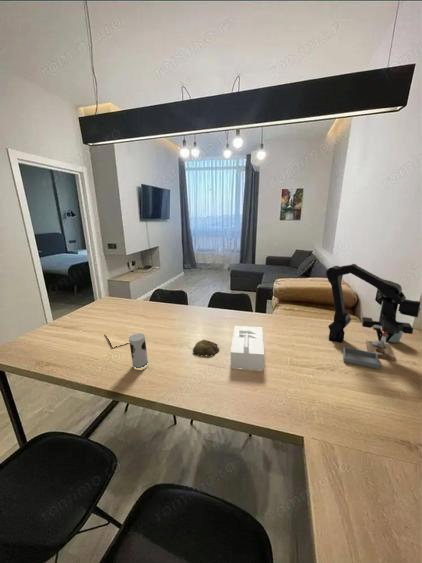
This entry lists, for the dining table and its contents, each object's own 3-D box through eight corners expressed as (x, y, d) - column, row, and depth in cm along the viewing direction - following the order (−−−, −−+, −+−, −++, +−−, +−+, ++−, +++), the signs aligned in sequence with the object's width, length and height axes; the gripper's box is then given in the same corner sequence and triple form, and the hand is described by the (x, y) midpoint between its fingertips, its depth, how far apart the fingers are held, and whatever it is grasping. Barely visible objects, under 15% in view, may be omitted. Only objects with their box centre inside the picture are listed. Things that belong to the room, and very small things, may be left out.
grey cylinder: (149, 361, 115) (146, 333, 110) (146, 370, 108) (142, 340, 104) (135, 361, 115) (131, 333, 111) (131, 370, 108) (126, 341, 104)
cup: (403, 345, 121) (407, 327, 118) (386, 343, 123) (389, 326, 120) (395, 337, 128) (399, 320, 126) (379, 336, 130) (382, 319, 127)
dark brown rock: (189, 353, 121) (189, 344, 119) (201, 341, 131) (201, 333, 130) (212, 359, 115) (211, 350, 113) (223, 347, 125) (223, 338, 124)
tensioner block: (368, 355, 114) (369, 350, 113) (365, 342, 124) (366, 338, 124) (394, 360, 110) (395, 355, 109) (389, 346, 120) (390, 342, 119)
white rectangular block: (261, 341, 129) (262, 323, 126) (263, 371, 105) (264, 349, 102) (234, 340, 131) (234, 321, 128) (230, 368, 108) (230, 347, 105)
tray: (343, 362, 109) (344, 357, 109) (342, 351, 118) (343, 346, 117) (379, 369, 104) (380, 364, 103) (375, 357, 112) (376, 353, 111)
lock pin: (378, 347, 113) (381, 333, 111) (377, 343, 116) (379, 329, 114) (386, 348, 112) (389, 334, 109) (385, 345, 114) (388, 331, 112)
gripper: (366, 314, 106) (361, 345, 110) (420, 321, 98) (412, 355, 102) (363, 305, 115) (359, 334, 120) (412, 311, 107) (405, 342, 112)
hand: (382, 341), depth 113 cm, fingers closed on lock pin, 2 cm apart
